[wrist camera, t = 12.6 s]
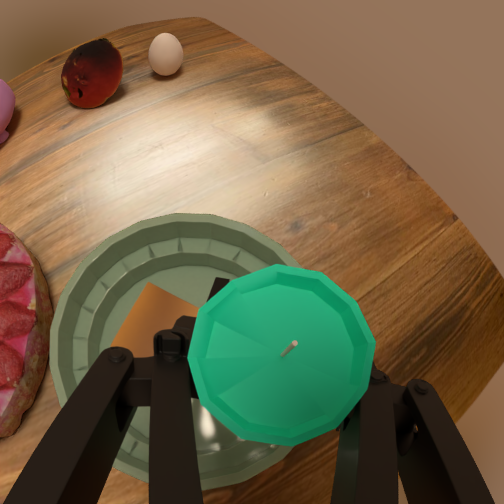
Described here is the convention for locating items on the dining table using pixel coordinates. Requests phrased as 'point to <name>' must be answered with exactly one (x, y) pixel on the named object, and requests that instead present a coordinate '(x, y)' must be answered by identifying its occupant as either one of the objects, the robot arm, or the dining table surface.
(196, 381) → the candle
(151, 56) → the egg
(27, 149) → the dining table surface
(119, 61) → the mushroom
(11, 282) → the cake
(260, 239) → the bowl
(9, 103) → the teapot
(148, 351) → the block
